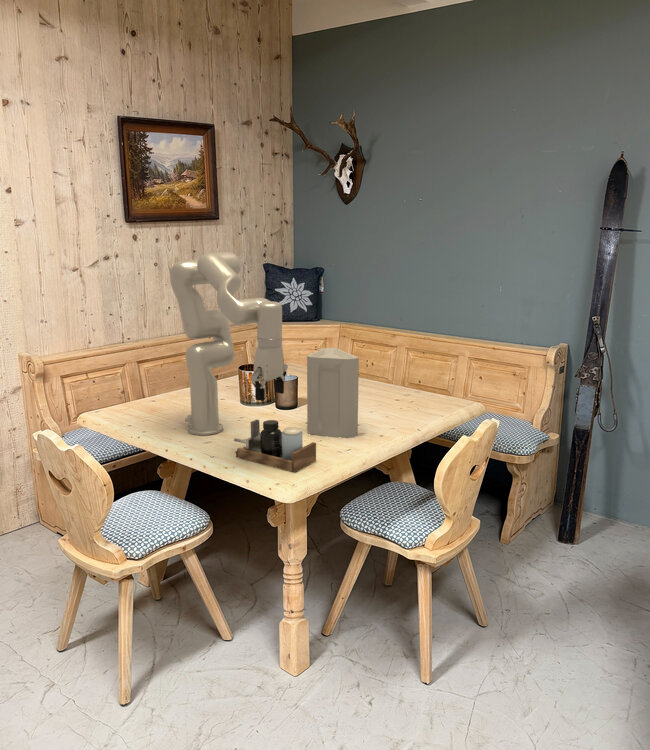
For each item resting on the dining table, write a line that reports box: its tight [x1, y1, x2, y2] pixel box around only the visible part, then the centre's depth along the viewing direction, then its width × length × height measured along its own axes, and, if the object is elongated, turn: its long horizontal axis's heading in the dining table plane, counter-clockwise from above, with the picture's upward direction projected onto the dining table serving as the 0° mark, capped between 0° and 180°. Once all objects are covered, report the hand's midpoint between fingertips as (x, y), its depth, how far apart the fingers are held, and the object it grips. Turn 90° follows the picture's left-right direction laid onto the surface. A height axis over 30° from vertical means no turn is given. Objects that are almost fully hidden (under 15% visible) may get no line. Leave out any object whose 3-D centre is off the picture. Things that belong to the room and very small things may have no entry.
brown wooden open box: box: [235, 442, 317, 473], centre depth 209 cm, size 23×11×6 cm, turn 57°
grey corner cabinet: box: [306, 347, 360, 439], centre depth 233 cm, size 19×15×28 cm
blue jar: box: [281, 426, 304, 461], centre depth 205 cm, size 6×6×11 cm
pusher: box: [233, 419, 261, 453], centre depth 215 cm, size 9×8×11 cm
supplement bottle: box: [260, 419, 283, 458], centre depth 210 cm, size 7×7×12 cm
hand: (269, 396), depth 206 cm, fingers open, 9 cm apart
